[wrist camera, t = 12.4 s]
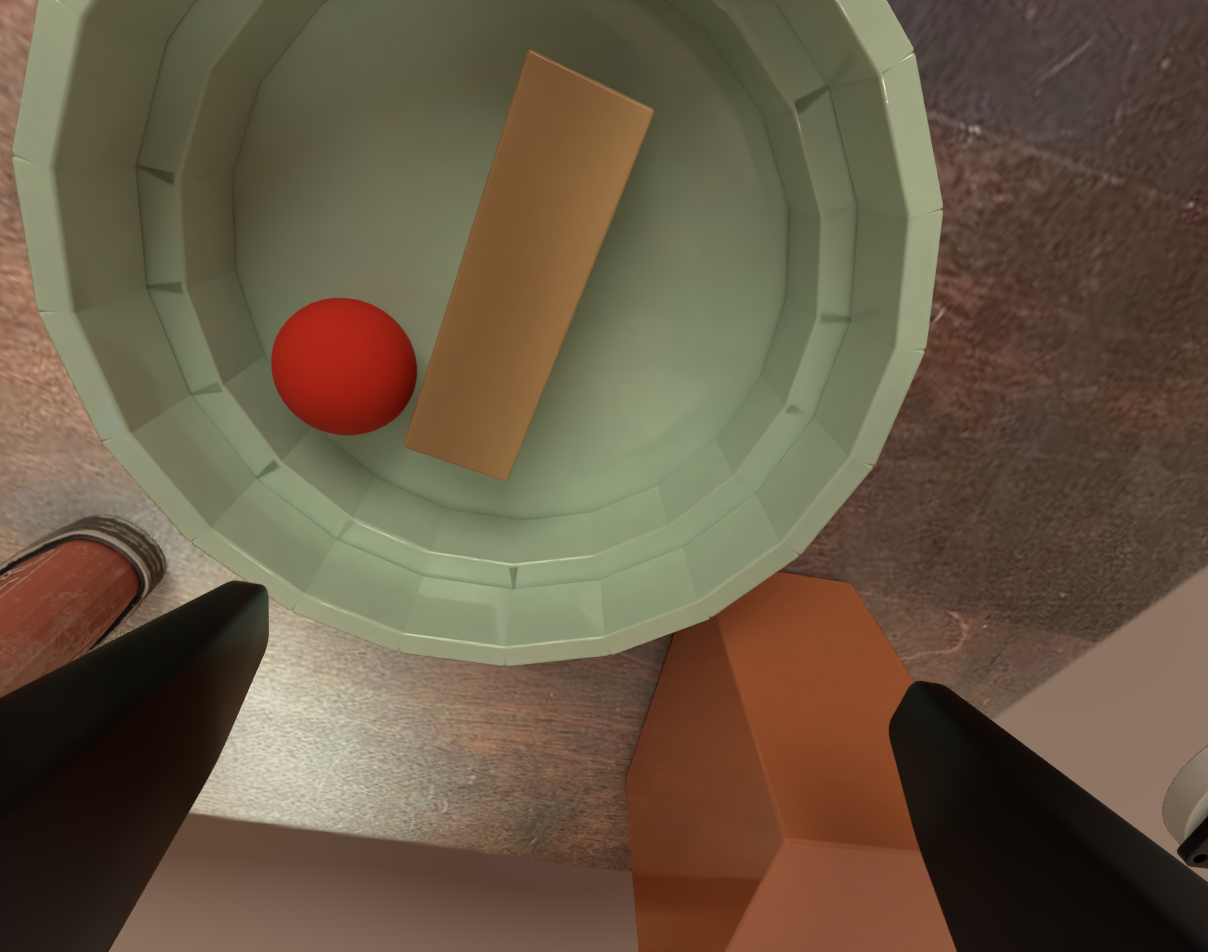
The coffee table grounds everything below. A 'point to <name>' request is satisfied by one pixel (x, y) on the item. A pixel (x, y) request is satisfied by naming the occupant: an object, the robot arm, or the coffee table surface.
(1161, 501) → the coffee table surface
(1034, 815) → the robot arm
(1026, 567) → the coffee table surface
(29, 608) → the lighter
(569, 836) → the coffee table surface
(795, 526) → the bowl
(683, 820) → the rectangular block
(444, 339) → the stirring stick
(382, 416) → the tomato ball
